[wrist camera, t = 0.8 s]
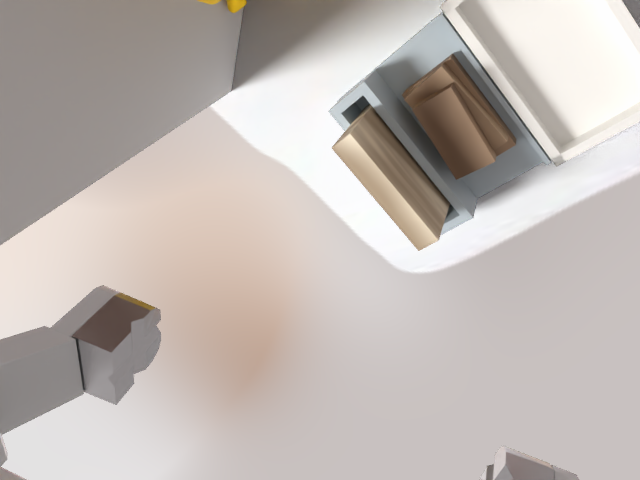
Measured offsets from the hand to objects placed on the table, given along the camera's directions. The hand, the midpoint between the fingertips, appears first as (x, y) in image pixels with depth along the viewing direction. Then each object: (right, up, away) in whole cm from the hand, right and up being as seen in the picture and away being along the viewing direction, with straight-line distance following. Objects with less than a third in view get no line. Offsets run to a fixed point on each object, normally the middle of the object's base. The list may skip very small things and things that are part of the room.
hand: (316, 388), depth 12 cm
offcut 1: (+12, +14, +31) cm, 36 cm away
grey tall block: (-9, +25, +36) cm, 45 cm away
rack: (+11, +14, +35) cm, 39 cm away
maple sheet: (+8, +12, +36) cm, 39 cm away
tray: (+18, +18, +28) cm, 38 cm away
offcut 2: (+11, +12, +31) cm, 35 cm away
